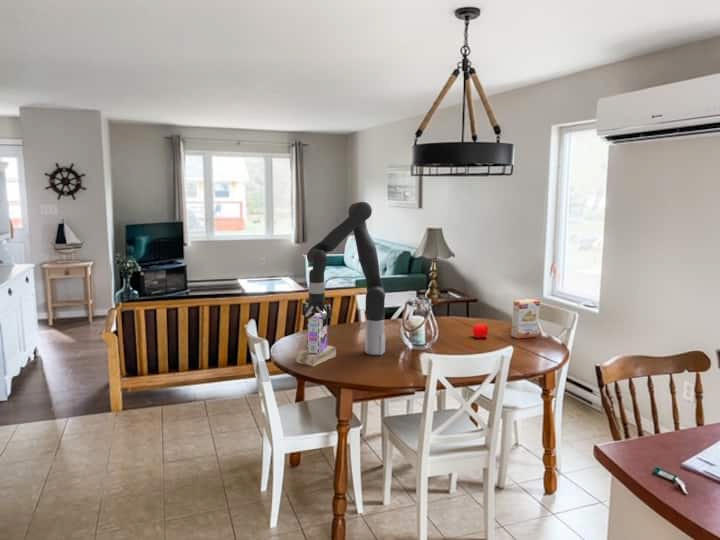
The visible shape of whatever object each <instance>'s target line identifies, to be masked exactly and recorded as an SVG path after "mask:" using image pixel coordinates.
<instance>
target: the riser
mask: <svg viewBox="0 0 720 540" xmlns="http://www.w3.org/2000/svg"><path fill="white" fill-rule="evenodd" d="M295 353H296V354H295V355H296V358H295V359H296V362H295V363H297V364H303V365H307V366H311V367H315V366H317V365H319V364H321V363H324V362H326V361H328V359H329V360H331V359H333V358H336V357H337V347H336V346H332V345H328V344H327V347H326V348H325V349H324V350H323V351H322V352H321V353H320V354H310V353H307V348H305V349H303V350H300V351H298V352H295Z"/></svg>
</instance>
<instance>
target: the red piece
mask: <svg viewBox="0 0 720 540" xmlns="http://www.w3.org/2000/svg"><path fill="white" fill-rule="evenodd" d="M488 330H489V328H488V324H482V323H481V324H480V323H479V324H475V325H474V326H473V328H472V331H471V332H472V334H473V337H474V338H477V339H482V338H484V339H487V338H488V337H487V336H488V334H487V333H488Z"/></svg>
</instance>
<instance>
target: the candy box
mask: <svg viewBox="0 0 720 540" xmlns="http://www.w3.org/2000/svg"><path fill="white" fill-rule="evenodd" d="M323 319H324V318H323V316H322V315H321V314H320V313H314V315H312V316H310V319H308V325H307V337H306V338H307V345H306V346H307V347H306V349H307V353H310V354H320V353H321V352H322V351H323V350H324V349H325V348H326V347H327V345H328V324H327V325H326V326H323Z"/></svg>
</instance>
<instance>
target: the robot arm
mask: <svg viewBox="0 0 720 540" xmlns="http://www.w3.org/2000/svg"><path fill="white" fill-rule="evenodd" d="M347 212H348V213H347V214H348V217H347V218H346V219H345V220H344V221H343V222H342V223H340V224H339V225H337V226H335V228H333V229H332V230H331V231H330V232H329V233H327V235H326V236H325V237H324V238H323V239H322V240H321V241H319V242H317V243H316V244H315V245H314V246H313V247H311V248H310V249H309V250H308V251H307V254H306V259H307V261H308V262H309V263H310V264H312V269H310V270H309V273H308V275H309V276H308V278H309V279H308V302H307V301H305V302H303V303H302V307H301V315H302V316H304V317H305V323H306V325H307V326H308V319H310V318H311V314H312V313H313V314H316V313H319V314H321V315H322V316H323V318H324V319H323V326H326V325H327V326H328V319H329V318H331V317H332V305H331V304H326V303H325V301H326V297H325V295H326V294H325V293H326V292H325V291H326V288H325V286H326V285H325V272H326V268H327V262H328V257H327V254H329V253H331V252H333V251H334V250H336V248H337V247H338V246H339V245H340V244H341V243H342V242H343V241H344V240H345V239H346V238H347V237H348V236H349V235H350V234H351V233H352V232H353V234H354V239H355V245H356V251H357V257H358V261H359V264H360V267H361V270H362V272H363V275H364V278H365V283H366V294H365V341H364V342H365V344H364V345H365V347H364V348H365V350H364V351H365V354H367V355H369V356H370V355H371V356H378V355H379V356H382V355H383V354H384V353H385V352H386V333H385V298H386V291H385V289H384V286H383V282H382V279H381V274H380V266H379V265H380V264H379V258H378V257H379V256H378V252H377V248H376V247H377V246H376V244H375V242H374V240H373V238H372V237H371V235H370V233H369V231H368V226H367V222H366V221H367V220H368V219H370V218H371V216H372V214H373V209H372V206H371V205H370V204H369V203H368V202H366V201H359V202H354V203H352V204H351V205H350V206H349V208H348V211H347ZM308 308H309V309H308Z"/></svg>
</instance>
